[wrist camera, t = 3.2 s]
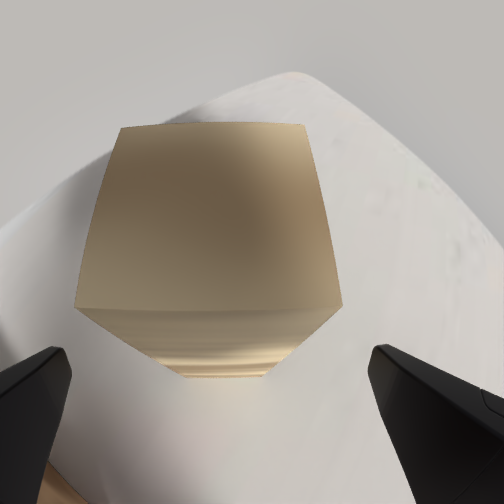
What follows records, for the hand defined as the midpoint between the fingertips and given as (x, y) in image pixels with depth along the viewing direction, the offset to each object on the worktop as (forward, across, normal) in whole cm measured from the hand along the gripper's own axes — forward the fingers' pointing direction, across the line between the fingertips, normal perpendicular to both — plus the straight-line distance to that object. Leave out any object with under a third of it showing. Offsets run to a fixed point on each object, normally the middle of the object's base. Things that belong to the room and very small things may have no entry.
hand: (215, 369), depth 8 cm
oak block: (+9, 0, +5) cm, 11 cm away
